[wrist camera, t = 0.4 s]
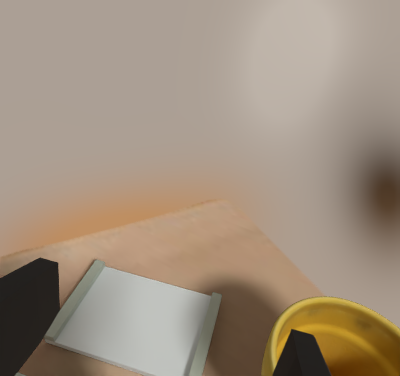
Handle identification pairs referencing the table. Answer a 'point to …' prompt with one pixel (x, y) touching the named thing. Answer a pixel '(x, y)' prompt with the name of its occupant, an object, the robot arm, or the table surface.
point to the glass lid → (137, 323)
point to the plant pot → (339, 337)
